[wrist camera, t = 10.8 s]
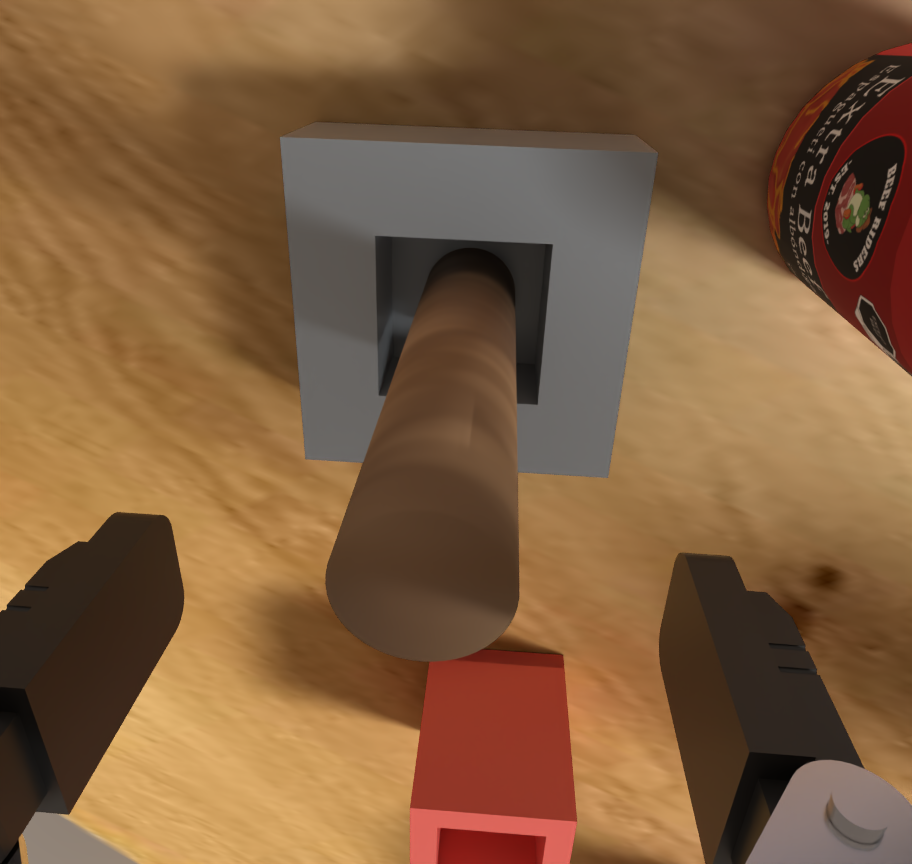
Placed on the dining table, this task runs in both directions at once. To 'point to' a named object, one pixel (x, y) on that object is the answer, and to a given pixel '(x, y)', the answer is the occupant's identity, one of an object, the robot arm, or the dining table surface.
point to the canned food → (853, 199)
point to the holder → (454, 227)
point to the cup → (494, 763)
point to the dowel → (439, 479)
